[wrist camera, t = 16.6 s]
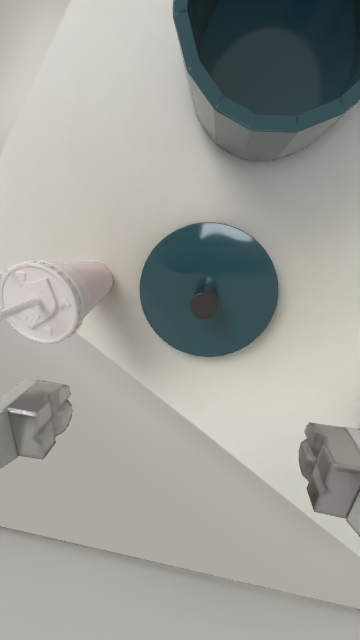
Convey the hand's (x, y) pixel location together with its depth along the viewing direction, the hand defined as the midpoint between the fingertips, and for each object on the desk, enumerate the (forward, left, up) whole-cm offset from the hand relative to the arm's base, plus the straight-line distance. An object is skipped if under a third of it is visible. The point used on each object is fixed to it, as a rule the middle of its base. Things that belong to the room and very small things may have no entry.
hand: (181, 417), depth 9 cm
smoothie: (-12, 0, -19) cm, 22 cm away
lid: (0, -1, -18) cm, 18 cm away
